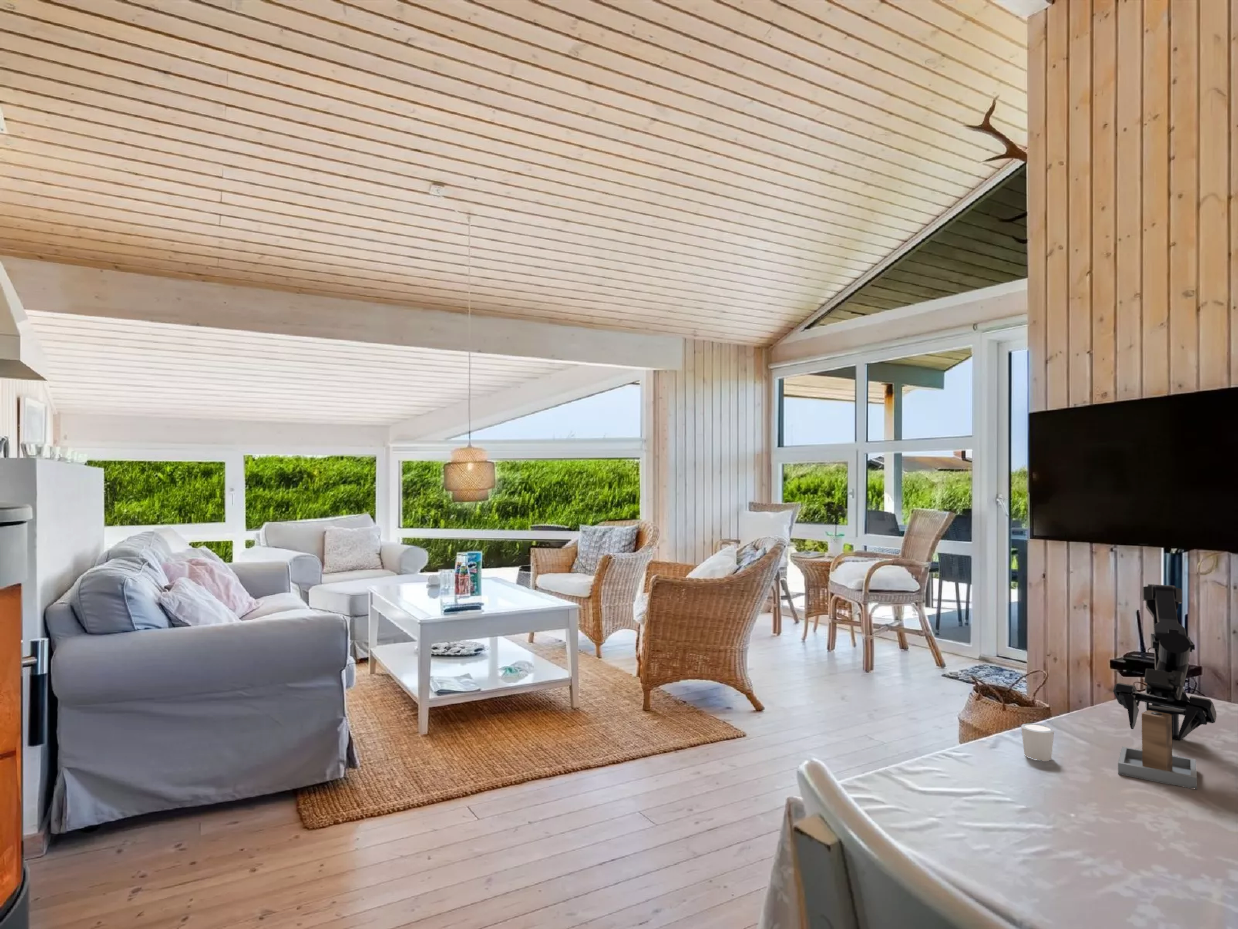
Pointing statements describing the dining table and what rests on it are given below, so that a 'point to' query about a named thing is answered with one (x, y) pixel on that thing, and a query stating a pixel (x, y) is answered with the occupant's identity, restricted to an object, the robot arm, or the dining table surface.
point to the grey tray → (1179, 775)
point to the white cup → (1037, 741)
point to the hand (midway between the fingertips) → (1155, 733)
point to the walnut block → (1157, 740)
